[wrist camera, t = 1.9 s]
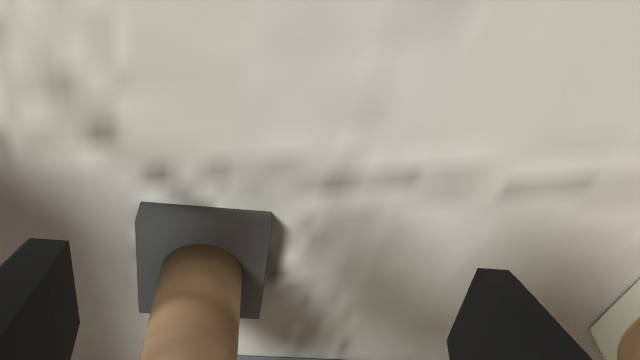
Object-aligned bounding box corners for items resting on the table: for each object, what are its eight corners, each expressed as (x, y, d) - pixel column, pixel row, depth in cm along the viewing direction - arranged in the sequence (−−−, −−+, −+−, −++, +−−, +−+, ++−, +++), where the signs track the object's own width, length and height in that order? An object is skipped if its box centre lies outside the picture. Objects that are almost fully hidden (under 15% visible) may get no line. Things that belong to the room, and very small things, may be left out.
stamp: (144, 291, 25) (105, 446, 19) (141, 200, 22) (94, 351, 16) (259, 298, 25) (255, 449, 20) (271, 211, 23) (269, 359, 17)
